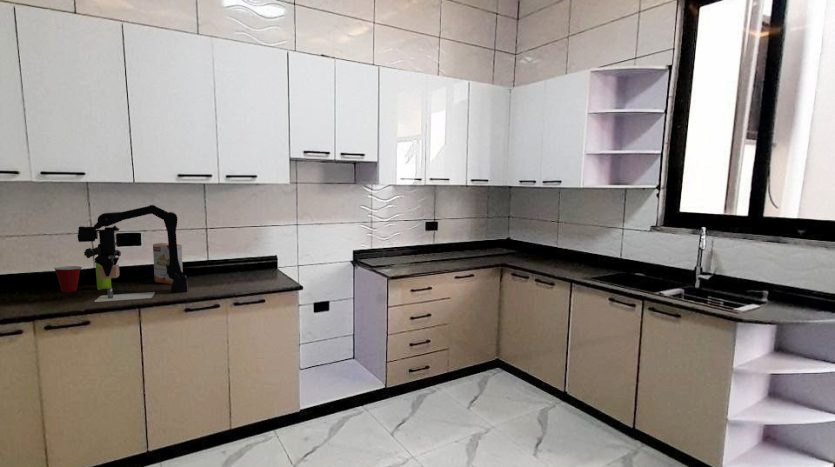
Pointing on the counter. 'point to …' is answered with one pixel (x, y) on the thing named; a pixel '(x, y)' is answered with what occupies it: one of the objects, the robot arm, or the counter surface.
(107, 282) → the soap dispenser
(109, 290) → the steel pin
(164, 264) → the cracker box
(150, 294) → the base plate
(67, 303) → the counter surface
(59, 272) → the plastic cup
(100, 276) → the pink hollow square block
